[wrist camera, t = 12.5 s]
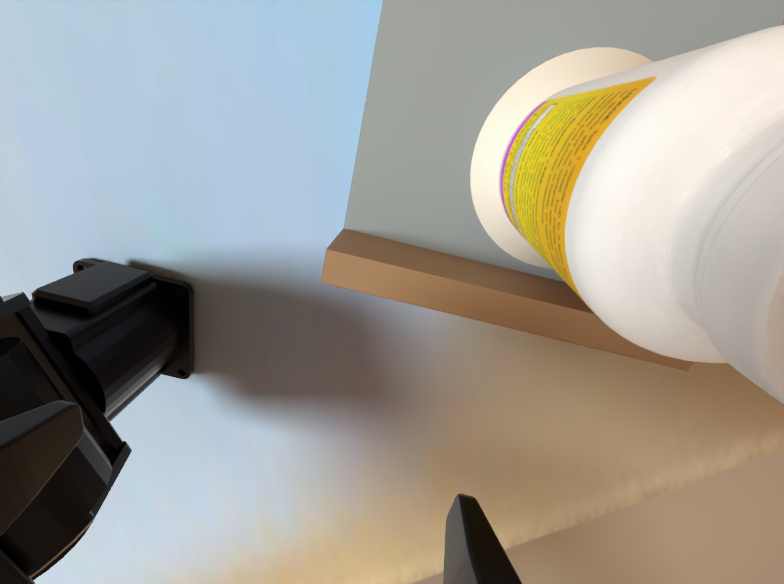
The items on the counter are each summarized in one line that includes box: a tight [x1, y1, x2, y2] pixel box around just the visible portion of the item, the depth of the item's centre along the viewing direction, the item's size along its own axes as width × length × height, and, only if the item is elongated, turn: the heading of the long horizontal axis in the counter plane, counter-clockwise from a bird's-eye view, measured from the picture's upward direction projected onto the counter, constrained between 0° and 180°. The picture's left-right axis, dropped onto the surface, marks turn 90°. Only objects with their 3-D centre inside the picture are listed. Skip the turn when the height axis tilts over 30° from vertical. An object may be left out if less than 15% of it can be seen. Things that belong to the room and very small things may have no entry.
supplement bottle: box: [498, 25, 784, 405], centre depth 10 cm, size 7×7×13 cm
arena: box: [321, 0, 784, 371], centre depth 15 cm, size 14×16×4 cm
